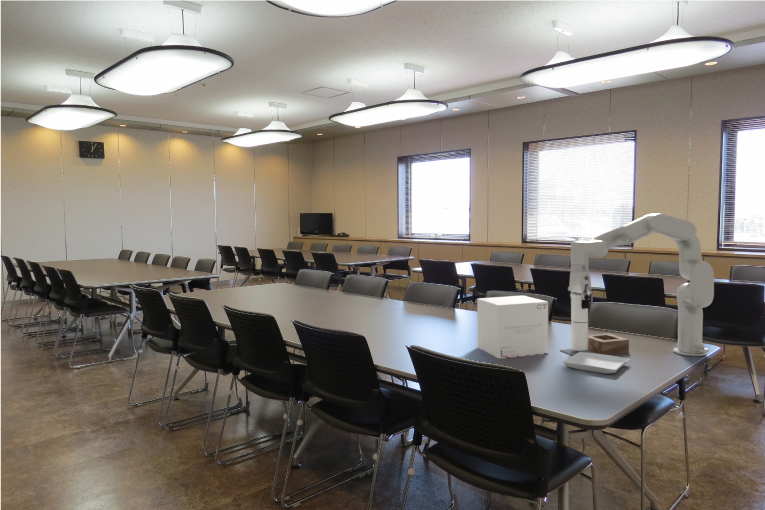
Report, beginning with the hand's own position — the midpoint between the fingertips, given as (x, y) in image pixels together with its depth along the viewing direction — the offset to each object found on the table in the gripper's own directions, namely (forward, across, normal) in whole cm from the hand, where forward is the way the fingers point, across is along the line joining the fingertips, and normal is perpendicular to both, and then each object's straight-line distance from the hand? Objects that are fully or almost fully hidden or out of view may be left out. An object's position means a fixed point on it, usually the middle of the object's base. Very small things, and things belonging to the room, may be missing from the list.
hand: (579, 306), depth 238 cm
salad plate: (+22, -21, +7) cm, 31 cm away
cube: (+22, +15, +26) cm, 37 cm away
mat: (+21, 0, 0) cm, 21 cm away
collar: (+21, 0, -14) cm, 25 cm away
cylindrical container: (+19, 0, 0) cm, 19 cm away
